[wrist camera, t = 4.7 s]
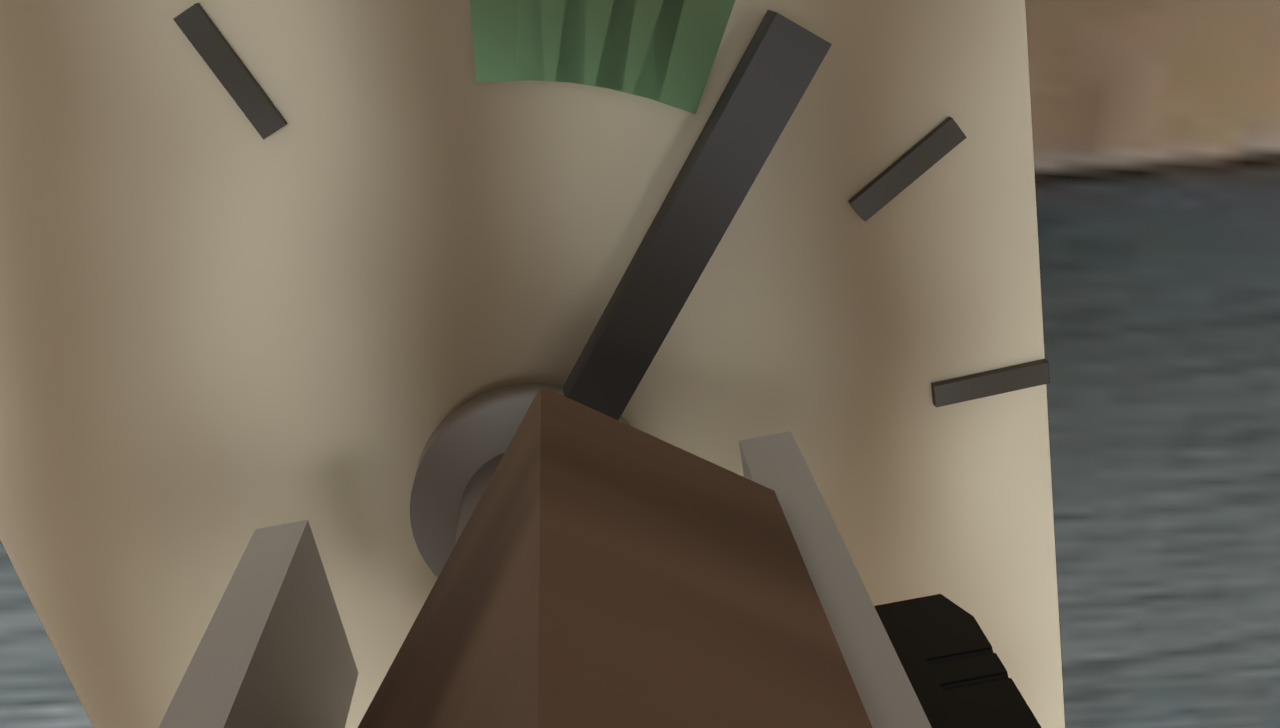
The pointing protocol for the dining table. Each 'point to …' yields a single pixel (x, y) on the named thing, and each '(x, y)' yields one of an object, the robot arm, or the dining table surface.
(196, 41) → the tuner board
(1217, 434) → the dining table surface
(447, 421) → the peg
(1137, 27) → the dining table surface
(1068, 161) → the dining table surface
